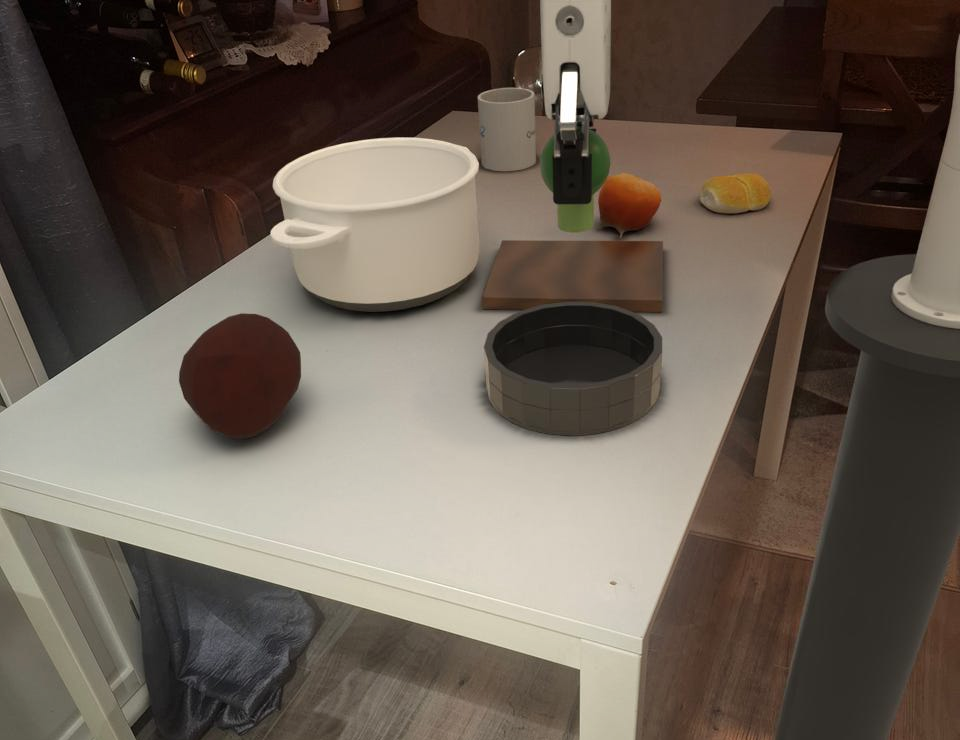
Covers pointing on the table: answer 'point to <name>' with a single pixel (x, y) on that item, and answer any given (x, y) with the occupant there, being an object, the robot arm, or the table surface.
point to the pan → (573, 368)
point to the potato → (241, 375)
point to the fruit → (627, 202)
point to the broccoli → (583, 214)
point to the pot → (380, 221)
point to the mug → (507, 129)
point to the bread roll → (735, 193)
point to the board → (576, 274)
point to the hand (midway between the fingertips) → (575, 186)
